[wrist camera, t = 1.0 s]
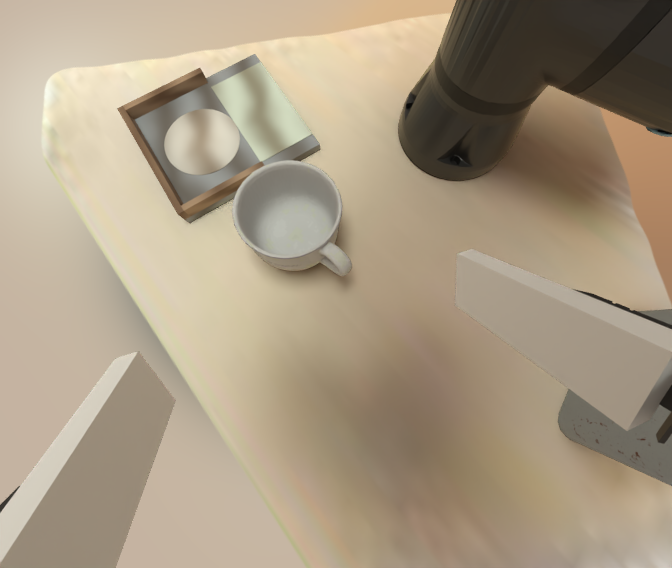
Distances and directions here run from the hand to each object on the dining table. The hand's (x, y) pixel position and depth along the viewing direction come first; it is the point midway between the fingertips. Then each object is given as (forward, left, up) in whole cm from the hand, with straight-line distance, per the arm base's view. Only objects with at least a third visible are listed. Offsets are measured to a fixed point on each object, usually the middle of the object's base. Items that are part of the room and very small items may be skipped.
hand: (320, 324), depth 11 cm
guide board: (-2, -30, -20) cm, 36 cm away
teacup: (-3, -11, -20) cm, 23 cm away
